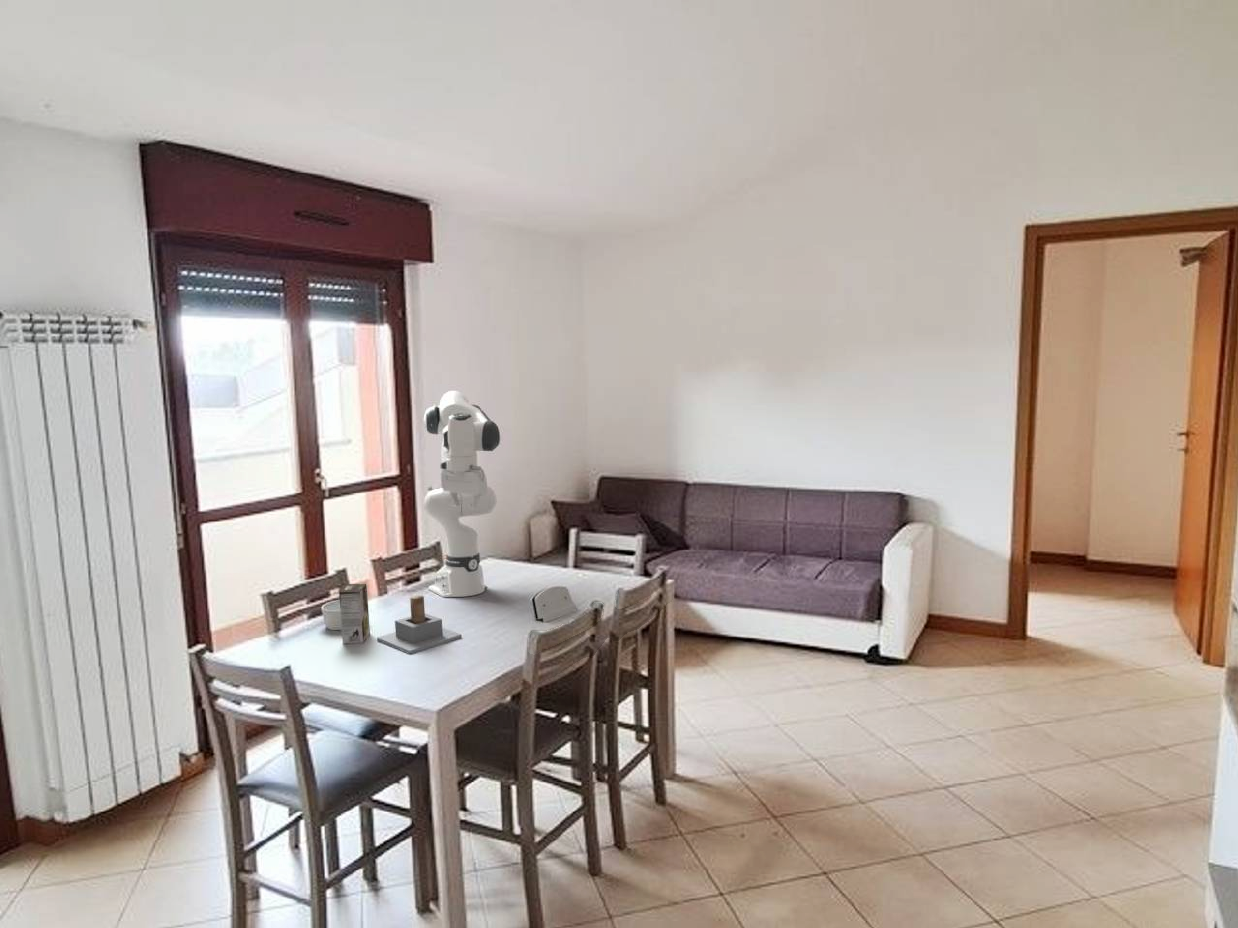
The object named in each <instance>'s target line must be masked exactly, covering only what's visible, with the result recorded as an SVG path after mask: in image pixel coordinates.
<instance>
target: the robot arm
mask: <svg viewBox="0 0 1238 928" xmlns="http://www.w3.org/2000/svg"><path fill="white" fill-rule="evenodd" d="M423 425H424V427H425V429H426V431H427V432H428V433H429V434H431V435H438V434H439V435H443V439H442V443H441V449H440V451H441V453H440V456H441V462H440V464H439V468H440V470H441V472H440V482H441V484H440V485H441V488H436V489H432V490H429V491H427V493H426V495H425V497H424V499H423V507H424V511H425V513H426V514H427V515H428V516H429V517H430V518H432V519H433V520H435V522H437V523H438V524H439V525H440V526H441V528H442V530H443V532H444V536H445V540H446V549H447V554H446V555H444V558H443V559H444V560H445V562H444V565H443V566H442V567H441V568H440V569H439V570H437V572H436V573H435V577H434V583H432V584H431V585H430V586H428V590H430V591H431V592H433V593H435V594H437V595H439V596H440V597H442V598H453V597H456V598H457V597H459V598H460V597H462V598H463V597H471V596H475V595H480V594H482V593H483V592H485V589H486V588H487V583H485V580H484V572H483V566H482V565H481V564H480V563H481V556H480V552H479V539H478V533H477V531H476V529H474V528H473V527H470V526H469V525H466V524H463V523H462V522H461V521H460V518H464V517H467V518H468V517H478V516H483V515H484V516H485V515H488V514H491V513H493V511H494V510H495V508H496V505H497V495H496V493H495V491H494V490H493V489H492V488H491V487H490V486H488V483H487V476H486V473H485V471H484V470H483V468H482V467H481V466H479V465H478V458H477V457H478V455H477V452H481V451H484V452H493V451H495V449H497V448H498V447H499V445H500V444H501V443H500V442H501V432H500V429H499V427H498V425H497V424H496V423H495V422H494V421H493V420H491V419H490V418H489V416H488V415H487V414H486V413H485V412H484V410H482V408H481V407H480V405H476V404H471V403H470V401H469V400H468V399H467V397H466V395H464V394H463V393H462V392H460V391H457V390H449V391H447V392H446V393H444V394H443V396H442V397H441V399H440V402H439V404H438V405H437V404H433V406H430V407H428V408H427V409H426V410H425V413H424V415H423Z"/></svg>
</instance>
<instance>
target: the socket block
mask: <svg viewBox="0 0 1238 928" xmlns="http://www.w3.org/2000/svg"><path fill="white" fill-rule="evenodd" d="M394 627H395V631H394V632H391V633H388V634H384V635H382V636H378V637H377V638H376V639H377V640H376V641H377V642H379V641H380V643H382V644H384V643H385V645H387V646H388V647H389V646H390V647H391V646H392V648H393V649H396V648H397V649H396V650H399V649H401V650H403V651H402V652H404V651H405V652H404V653H406V652H408V653H412V654H414V653H413V652H415V653H417V652H416V651H418V652H421V651H424V650H427V649H430V648H434V647H436V646H440V645H443V644H446V643H450V642H453V641H455V640H459V639H462V638H463V637H462V634H461V633H459V632H455V631H453V630H451V629H447V628H445V627H443V620H442V618H439V617H437V616H434V615H431V614H428V613H425V622H422V623H419V624H413V623H412V620H411V616H407V617H403V618H400V619H397V620H395V621H394ZM423 649H424V650H423ZM401 650H400V651H401ZM420 650H421V651H420ZM408 653H407V654H408Z"/></svg>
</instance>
